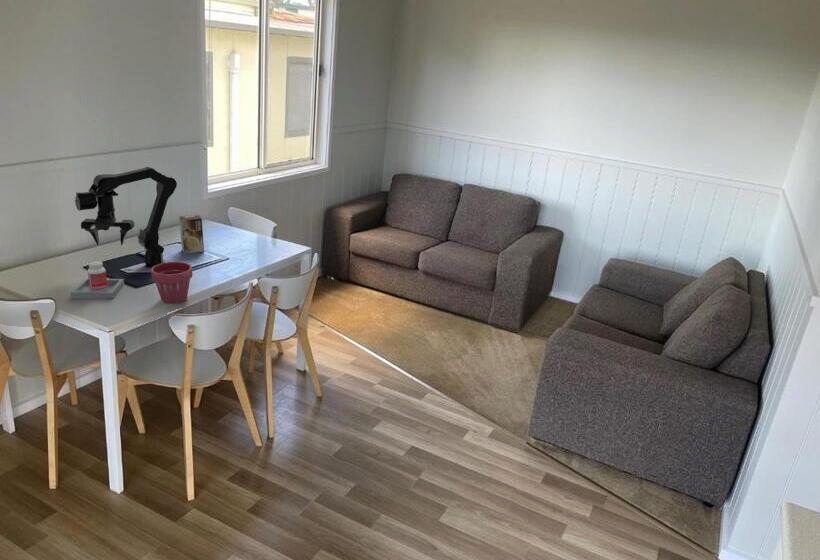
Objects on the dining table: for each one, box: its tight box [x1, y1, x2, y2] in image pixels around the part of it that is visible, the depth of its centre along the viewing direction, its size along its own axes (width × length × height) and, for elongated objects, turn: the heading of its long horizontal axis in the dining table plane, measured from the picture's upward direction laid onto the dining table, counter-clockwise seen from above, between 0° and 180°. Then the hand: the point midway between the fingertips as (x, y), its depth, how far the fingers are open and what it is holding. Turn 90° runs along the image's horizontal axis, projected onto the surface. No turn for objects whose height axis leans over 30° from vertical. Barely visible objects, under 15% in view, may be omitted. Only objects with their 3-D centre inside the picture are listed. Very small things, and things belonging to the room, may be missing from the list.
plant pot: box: [150, 261, 193, 305], centre depth 231 cm, size 14×14×13 cm
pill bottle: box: [87, 260, 108, 292], centre depth 234 cm, size 6×6×11 cm
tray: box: [70, 278, 125, 300], centre depth 236 cm, size 14×14×2 cm
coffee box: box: [178, 214, 205, 255], centre depth 284 cm, size 9×6×16 cm
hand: (110, 244), depth 251 cm, fingers open, 9 cm apart
